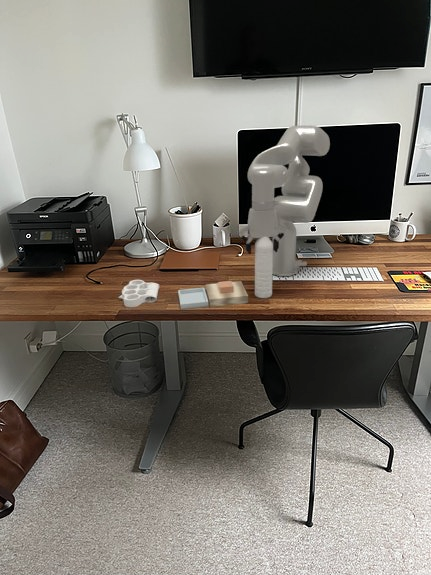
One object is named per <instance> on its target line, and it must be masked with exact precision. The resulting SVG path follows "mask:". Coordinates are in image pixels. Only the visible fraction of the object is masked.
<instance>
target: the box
mask: <svg viewBox="0 0 431 575" xmlns="http://www.w3.org/2000/svg"><path fill="white" fill-rule="evenodd" d="M177 292H178V293H177V294H178V300H179V305H180V310H187V309H198V308H205V307H206V308H207V307H210V305H209V302H208V298H207V295H206V291H205V287H198V288H197V287H196V288H186V289H185V288H184V289H178V290H177Z"/></svg>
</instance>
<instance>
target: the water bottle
mask: <svg viewBox="0 0 431 575" xmlns="http://www.w3.org/2000/svg"><path fill="white" fill-rule="evenodd" d="M272 242H273V240H271V237H262V238H256V241H255V242H254V295H255V297H257V298H258V299H267V298H270V297H272V295H273V275H272V268H273V264H272V263H273V243H272Z"/></svg>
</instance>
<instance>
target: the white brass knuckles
mask: <svg viewBox="0 0 431 575" xmlns="http://www.w3.org/2000/svg"><path fill="white" fill-rule="evenodd" d="M159 289H160V284H158V283H156V282H145V281H144V280H142V279H134V280H133V279H132V280H130V281H129V282H128V284H127V285H125V286H124V287H123V289H122V290H121V295H120V296H118V299H122V301H123V305H124V306H125V307H127V308H135V307H138V306H140V305H141V304H143V303H154V302H156V301H157V300H158V299H157V298H158V294H159Z"/></svg>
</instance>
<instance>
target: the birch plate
mask: <svg viewBox="0 0 431 575" xmlns="http://www.w3.org/2000/svg"><path fill="white" fill-rule="evenodd" d="M232 284H233V286H234V292H230V293H221V294H220V291H219V288H218V282H217V283H206V284H205V286H204V289H205V292H206V296H207V299H208V306H209V307H210V308H214V307H221V306H222V307H223V306H232V305H243V304H249V294H248V293H247V291H246V288H245V287H244V284H243V283H242V281H241V280H237V281H232Z"/></svg>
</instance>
